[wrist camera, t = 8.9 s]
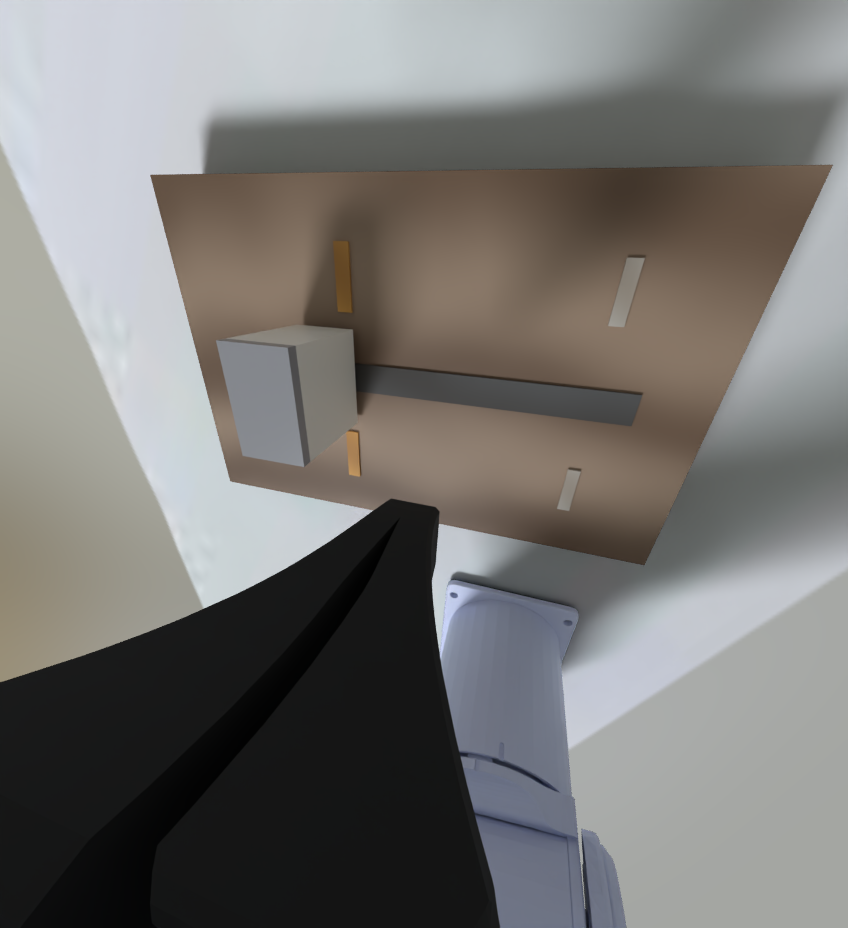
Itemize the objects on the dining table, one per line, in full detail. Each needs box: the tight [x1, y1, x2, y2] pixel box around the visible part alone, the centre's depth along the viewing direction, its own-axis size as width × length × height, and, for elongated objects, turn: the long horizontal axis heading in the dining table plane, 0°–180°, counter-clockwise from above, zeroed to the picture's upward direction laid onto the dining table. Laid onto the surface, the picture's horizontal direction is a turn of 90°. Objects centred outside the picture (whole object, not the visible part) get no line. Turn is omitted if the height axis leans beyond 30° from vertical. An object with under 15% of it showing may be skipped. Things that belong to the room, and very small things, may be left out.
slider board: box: [150, 165, 833, 565], centre depth 16 cm, size 14×22×3 cm, turn 87°
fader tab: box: [216, 325, 358, 467], centre depth 13 cm, size 4×2×4 cm, turn 177°
